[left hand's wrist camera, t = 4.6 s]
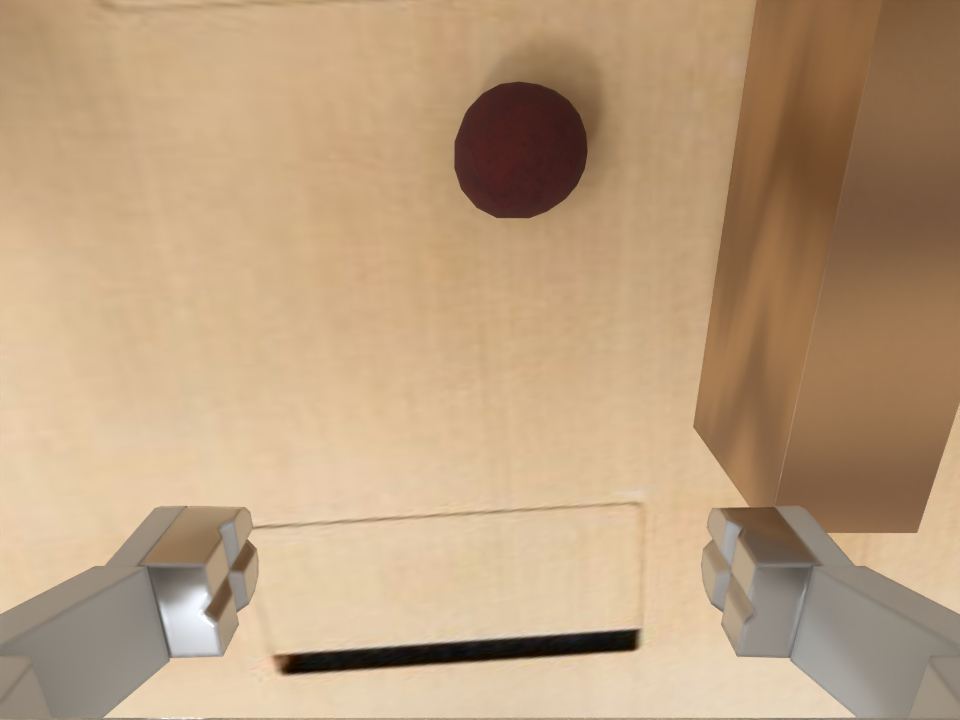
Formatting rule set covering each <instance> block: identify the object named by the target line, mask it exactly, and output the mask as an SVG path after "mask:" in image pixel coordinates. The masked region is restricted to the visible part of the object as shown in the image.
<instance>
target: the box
mask: <svg viewBox="0 0 960 720" xmlns="http://www.w3.org/2000/svg"><path fill="white" fill-rule="evenodd" d="M959 403H960V0H757V2H756V9H755V16H754V23H753V29H752V36H751V43H750V49H749V56H748V63H747V70H746V76H745V83H744V90H743V96H742V103H741V110H740V117H739V123H738V130H737V137H736V143H735V150H734V157H733V164H732V170H731V177H730V184H729V190H728V197H727V204H726V211H725V217H724V224H723V231H722V237H721V244H720V251H719V258H718V264H717V271H716V278H715V284H714V291H713V298H712V305H711V311H710V318H709V325H708V331H707V338H706V345H705V352H704V358H703V365H702V372H701V378H700V385H699V392H698V399H697V405H696V412H695V419H694V425H693V427H694V429H695V430H696V431H697V433H698V434H699V436H700V437H701V438H702V440H703V441H704V443H705V444H706V446H707V447H708V448H709V450H710V451H711V453H712V454H713V455H714V457H715V458H716V460H717V461H718V463H719V464H720V465H721V467H722V468H723V470H724V471H725V472H726V474H727V475H728V477H729V478H730V480H731V481H732V482H733V484H734V485H735V487H736V488H737V489H738V491H739V492H740V494H741V495H742V497H743V498H744V499H745V501H746V502H747V504H748V505H749V506H750V507H770V506H801V507H803V508H805V509H806V510H807V511H808V512H809V513H810V514H811V515H812V517H813V518H814V519H815V520H816V521H817V522H818V523H819V525H820V526H821V527H822V528H823V529H824V530H825V532H826V533H917V532H918V528H919V525H920V522H921V519H922V516H923V513H924V510H925V507H926V504H927V501H928V498H929V495H930V492H931V489H932V486H933V483H934V479H935V476H936V473H937V470H938V467H939V464H940V461H941V458H942V455H943V452H944V449H945V446H946V443H947V440H948V437H949V434H950V431H951V427H952V424H953V421H954V418H955V415H956V412H957V409H958V406H959Z"/></svg>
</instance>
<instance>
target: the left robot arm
mask: <svg viewBox="0 0 960 720" xmlns="http://www.w3.org/2000/svg"><path fill="white" fill-rule="evenodd" d="M252 529H253V524H252V519H251V514H250V511H249V510H248V509H246V508H245V507H211V506H189V507H188V506H161V507H158V508H155V509H154V510H153V511H152V512H151V513H150V514H149V515H148V517H147V518H146V519H145V520H144V521H143V522H142V523H141V525H140V526H139V527H138V528H137V529H136V530H135V531H134V533H133V534H132V535H131V536H130V537H129V538H128V540H127V541H126V542H125V543H124V544H123V545H122V546H121V548H120V549H119V550H118V551H117V552H116V553H115V554H114V556H113V557H112V558H111V559H110V560H109V561H108V563H107V564H106V565H105V566H94V567H92V568H90V569H89V570H87V571H85V572H83V573H81V574H79V575H77V576H75V577H73V578H71V579H69V580H67V581H65V582H63V583H61V584H59V585H57V586H55V587H53V588H51V589H49V590H47V591H45V592H43V593H41V594H39V595H37V596H35V597H33V598H32V599H30V600H28V601H26V602H24V603H22V604H20V605H18V606H16V607H14V608H12V609H10V610H8V611H6V612H4V613H2V614H0V720H960V614H958V613H956V612H954V611H952V610H950V609H948V608H946V607H944V606H942V605H940V604H938V603H936V602H934V601H932V600H930V599H928V598H926V597H924V596H922V595H920V594H919V593H917V592H915V591H913V590H911V589H909V588H907V587H905V586H903V585H901V584H899V583H897V582H895V581H893V580H891V579H889V578H887V577H885V576H883V575H881V574H879V573H877V572H875V571H873V570H871V569H870V568H868V567H866V566H855V565H854V564H853V563H852V561H851V560H850V559H849V558H848V557H847V556H846V554H845V553H844V552H843V551H842V550H841V549H840V548H839V546H838V545H837V544H836V543H835V542H834V541H833V540H832V538H831V537H830V536H829V535H828V534H827V533H826V532H825V530H824V529H823V528H822V527H821V526H820V525H819V523H818V522H817V521H816V520H815V519H814V518H813V517H812V515H811V514H810V513H809V512H808V511H807V510H806V509H805V508H803V507H801V506H770V507H744V508H712V510H711V512H710V514H709V518H708V523H707V529H708V531H709V533H710V535H711V536H712V538H713V539H712V540H711V541H710V542H709V543H708V544H707V545H706V547H705V548H704V549H703V555H702V563H701V568H702V579H703V584H704V587H705V591H706V594H707V596H708V598H709V600H710V602H711V604H712V605H713V606H715V607H716V608H717V609H719V610H720V611H722V612H723V617H722V623H721V625H722V627H723V629H724V631H725V633H726V635H727V637H728V639H729V641H730V643H731V645H732V647H733V649H734V651H735V653H736V655H737V657H773V658H791V659H790V661H791V662H792V663H794V664H795V665H796V666H797V667H798V668H799V669H801V670H802V671H803V672H804V673H805V674H807V675H808V676H809V677H810V678H811V679H812V680H814V681H815V682H816V683H817V684H818V685H820V686H821V687H822V688H823V689H824V690H825V691H827V692H828V693H829V694H830V695H831V696H832V697H834V698H835V699H836V700H837V701H838V702H840V703H841V704H842V705H843V706H844V707H845V708H847V709H848V710H849V711H850V712H851V713H852V714H854V715H855V716H856V717H857V718H103V717H104V716H105V715H107V714H108V713H109V712H110V711H111V710H112V709H114V708H115V707H116V706H117V705H118V704H120V703H121V702H122V701H123V700H124V699H125V698H127V697H128V696H129V695H130V694H131V693H132V692H134V691H135V690H136V689H137V688H138V687H140V686H141V685H142V684H143V683H144V682H145V681H147V680H148V679H149V678H150V677H151V676H153V675H154V674H155V673H156V672H157V671H158V670H160V669H161V668H162V667H163V666H164V665H166V664H167V663H168V662H169V661H170V659H169V658H187V657H221V656H223V655H224V653H225V651H226V649H227V647H228V645H229V643H230V641H231V639H232V637H233V635H234V633H235V631H236V629H237V627H238V625H239V623H238V617H237V612H238V611H240V610H241V609H243V608H244V607H245V606H247V605H248V604H249V602H250V600H251V598H252V596H253V594H254V592H255V587H256V583H257V578H258V563H259V560H258V554H257V549H256V548H255V547H254V545H253V544H252V543H251V542H250V541H249V540H248V539H247V538H248V536H249V535H250V533H251V531H252Z"/></svg>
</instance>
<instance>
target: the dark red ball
mask: <svg viewBox="0 0 960 720" xmlns="http://www.w3.org/2000/svg"><path fill="white" fill-rule="evenodd" d="M586 157H587V141H586V132H585V129H584V126H583V123H582V120H581V117H580V115H579V113H578V112H577V111H576V109H575V108H574V107H573V106H572V104H571V103H570V102H569V100H567V99H566V98H564V97H563V96H561V95H560V94H559V93H557V92H556V91H554V90H551V89H549V88H546V87H543V86H541V85H538V84H531V83H524V82H513V83H505V84H500V85H498V86H496V87H494V88H492V89H490V90H488V91H486V92H485V93H483V94H482V95H481V96H480V97H479V98H478V99H477V100H476V101H475V102H474V103H473V104H472V105H471V107H470V108H469V109H468V110H467V112H466V114H465V116H464V119H463V121H462V124H461V126H460V129H459V132H458V134H457V137H456V140H455V166H454V168H455V171H456V174H457V177H458V180H459V183H460V186H461V189H462V191H463V192H464V193H465V194H466V195H467V197H468V198H469V199H470V200H471V201H472V203H473V204H474V205H475V206H476V207H477V208H478V209H480V210H482V211H484V212H486V213H488V214H490V215H492V216H494V217H496V218H531V217H534V216H536V215H539V214H541V213H544V212H547V211H548V210H550V209H551V208H553V207H554V206H556V205H557V204H559V203H560V202H562V201H563V200H565V199H566V198H567V196H568V195H569V194H570V193H571V192H572V191H573V189H574V188H575V187H576V186H577V184H578V182H579V180H580V178H581V175H582V173H583V171H584V169H585V163H586Z"/></svg>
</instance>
